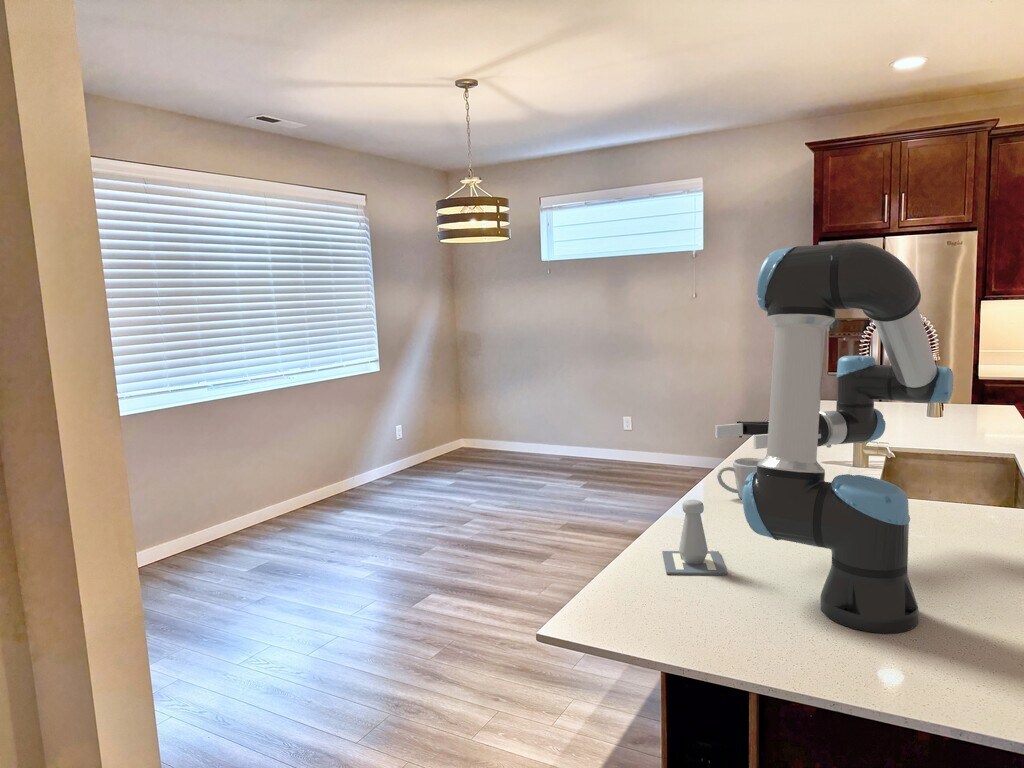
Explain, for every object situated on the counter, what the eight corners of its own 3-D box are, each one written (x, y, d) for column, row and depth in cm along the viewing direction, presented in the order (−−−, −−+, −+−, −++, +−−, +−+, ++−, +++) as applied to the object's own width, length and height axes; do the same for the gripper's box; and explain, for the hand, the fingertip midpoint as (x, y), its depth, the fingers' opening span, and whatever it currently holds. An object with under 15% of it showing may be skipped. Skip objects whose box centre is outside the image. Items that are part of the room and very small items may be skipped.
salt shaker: (687, 567, 143) (686, 506, 141) (674, 558, 148) (673, 498, 147) (713, 564, 144) (712, 503, 142) (699, 554, 149) (698, 495, 148)
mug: (778, 502, 185) (778, 465, 184) (722, 504, 186) (722, 467, 184) (765, 491, 196) (765, 456, 194) (712, 493, 196) (711, 458, 195)
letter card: (727, 575, 139) (727, 572, 139) (666, 574, 141) (666, 572, 141) (718, 553, 151) (718, 551, 151) (662, 553, 153) (662, 550, 153)
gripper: (861, 456, 141) (772, 466, 135) (780, 437, 165) (702, 444, 159) (862, 420, 140) (773, 427, 134) (781, 405, 164) (702, 411, 158)
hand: (734, 436), depth 146 cm, fingers open, 13 cm apart
